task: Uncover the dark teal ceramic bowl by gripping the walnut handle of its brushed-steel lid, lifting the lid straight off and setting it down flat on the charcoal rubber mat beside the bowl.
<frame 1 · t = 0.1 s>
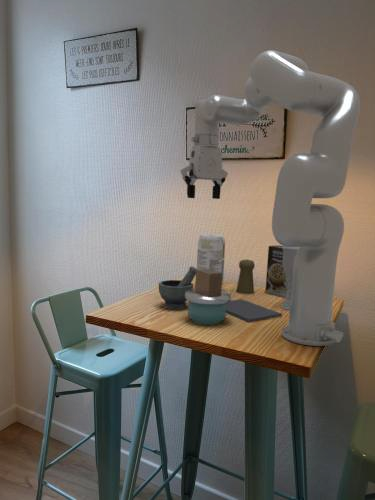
hand: (203, 198, 135), 31 cm above the table, tool pointing down, fingers open, 9 cm apart
olive pawn: (245, 292, 147), on the table
bowl: (206, 320, 113), on the table, touching lid
juice carton: (209, 290, 147), on the table
chalice: (289, 308, 129), on the table
coffee box: (281, 294, 145), on the table
mat: (244, 311, 123), on the table
lid: (207, 298, 112), point 6 cm above the table, touching bowl
mortar and pestle: (177, 307, 125), on the table
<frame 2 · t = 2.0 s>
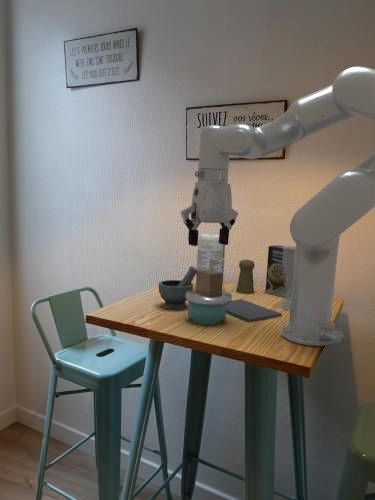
hand: (208, 244, 110), 20 cm above the table, tool pointing down, fingers open, 9 cm apart
nothing on the table moved.
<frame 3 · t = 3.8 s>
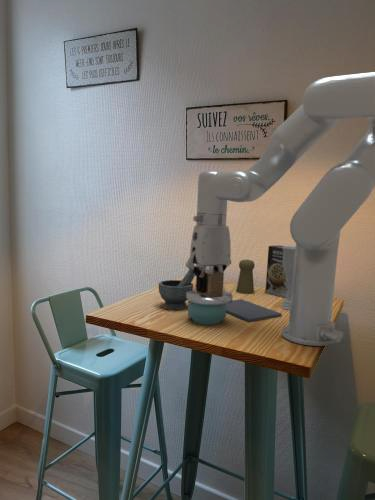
hand: (208, 290, 112), 8 cm above the table, tool pointing down, fingers closed on lid, 4 cm apart
lid: (209, 298, 112), point 6 cm above the table, touching bowl, gripper
everything else where it was.
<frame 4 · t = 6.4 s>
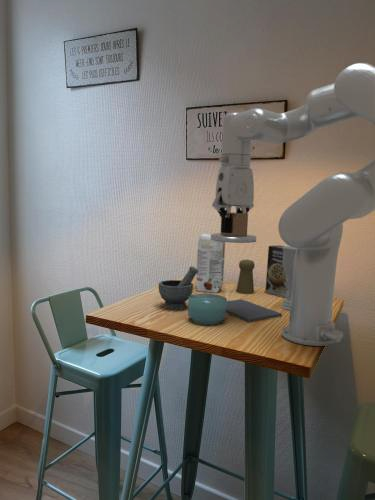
hand: (232, 231, 115), 23 cm above the table, tool pointing down, fingers closed on lid, 4 cm apart
bowl: (206, 320, 113), on the table
lid: (233, 240, 115), point 21 cm above the table, touching gripper
everything else where it was.
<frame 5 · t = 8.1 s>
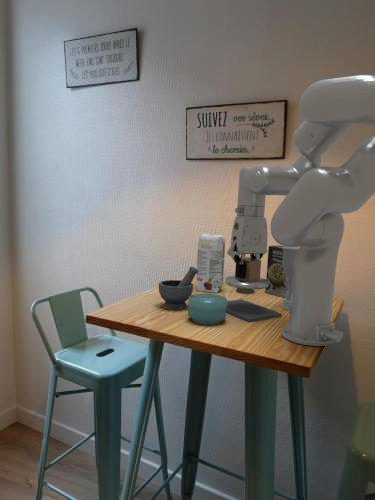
hand: (246, 276, 122), 10 cm above the table, tool pointing down, fingers closed on lid, 4 cm apart
lid: (246, 284, 122), point 8 cm above the table, touching gripper
everything else where it was.
when the fingers open (4 cm above the table, at t = 9.4 s): lid drops 1 cm, resting on mat.
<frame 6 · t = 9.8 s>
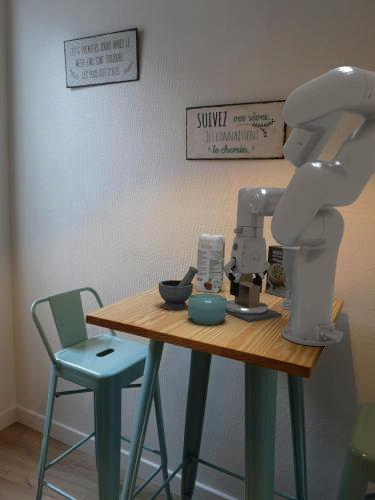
hand: (245, 293, 122), 5 cm above the table, tool pointing down, fingers open, 8 cm apart
lid: (246, 308, 122), point 1 cm above the table, touching mat
everything else where it was.
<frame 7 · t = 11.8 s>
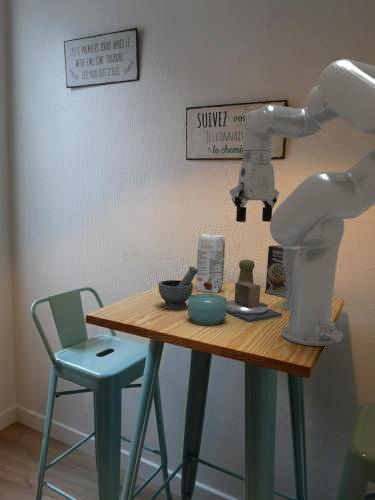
hand: (254, 221, 119), 26 cm above the table, tool pointing down, fingers open, 9 cm apart
nothing on the table moved.
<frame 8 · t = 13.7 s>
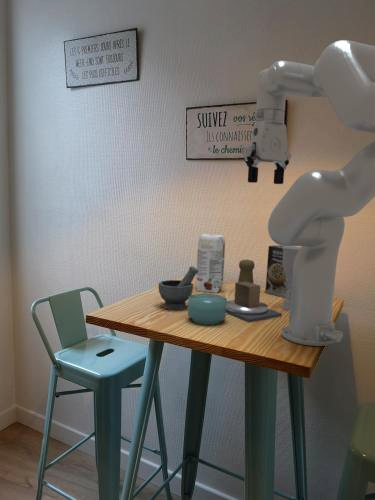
hand: (265, 183, 118), 36 cm above the table, tool pointing down, fingers open, 9 cm apart
nothing on the table moved.
at the end: lid inside the target area on the mat (0.6 cm from its centre), point 0.8 cm above the mat's base; lid tilted 0°; bowl moved 0.1 cm from its start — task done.
